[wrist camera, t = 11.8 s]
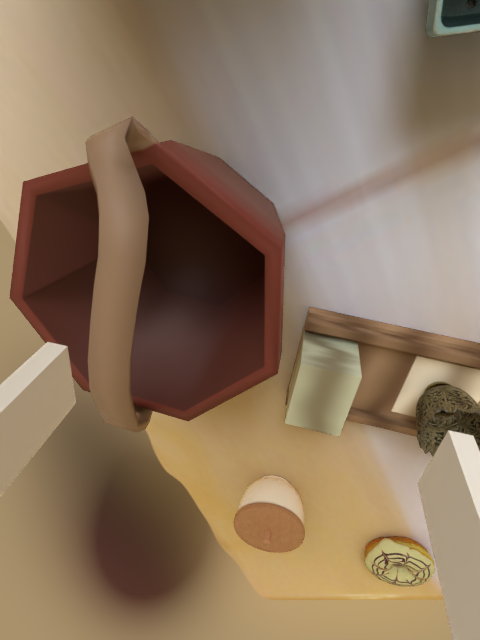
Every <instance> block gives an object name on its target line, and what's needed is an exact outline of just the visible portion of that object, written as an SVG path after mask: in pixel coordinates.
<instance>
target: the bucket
mask: <svg viewBox="0 0 480 640" xmlns="http://www.w3.org/2000/svg"><path fill="white" fill-rule="evenodd" d="M86 149H87V157H88V163H87V164H84V165H80V166H77V167H73V168H70V169H66V170H63V171H59V172H56V173H52V174H49V175H45V176H42V177H38V178H35V179H31V180H28V181H24V182H23V187H22V196H21V204H20V213H19V221H18V230H17V238H16V247H15V256H14V264H13V273H12V281H11V290H10V299H11V300H12V301H13V302H14V304H15V305H16V306H17V307H18V309H19V310H20V311H21V312H22V314H23V315H24V316H25V318H26V319H27V320H28V321H29V322H30V324H31V325H32V326H33V328H34V329H35V330H36V331H37V333H38V334H39V335H40V336H41V338H42V339H43V340H44V341H45V343H47V342H51V343H55V344H60V345H64V346H68V353H69V359H70V366H71V372H72V377H73V378H74V379H75V380H76V382H77V383H78V384H79V386H80V387H81V388H82V389H83V390H85V391H88V392H91V394H92V396H93V399H94V402H95V404H96V406H97V409H98V411H99V413H100V414H101V415H102V416H103V420H104V423H107V424H110V425H113V426H117V427H120V428H123V429H127V430H130V431H133V432H138V431H141V430H144V429H146V427H147V425H148V423H149V422H150V418H151V415H152V411H155V412H159V413H162V414H165V415H169V416H172V417H176V418H179V419H182V420H186V421H190V420H191V419H193V418H195V417H197V416H199V415H201V414H203V413H205V412H206V411H208V410H210V409H212V408H214V407H216V406H218V405H220V404H221V403H223V402H225V401H227V400H229V399H231V398H233V397H234V396H236V395H238V394H240V393H242V392H244V391H246V390H248V389H249V388H251V387H253V386H255V385H257V384H259V383H261V382H262V381H264V380H266V379H268V378H270V377H272V376H274V375H276V374H277V373H278V369H279V363H280V358H281V353H282V323H283V291H284V259H285V233H284V230H283V228H282V225H281V222H280V220H279V217H278V214H277V212H276V209H275V206H274V204H273V203H272V202H271V201H270V200H269V199H268V198H266V197H265V196H264V195H263V194H262V193H260V192H259V191H258V190H257V189H256V188H254V187H253V186H252V185H251V184H250V183H249V182H247V181H246V180H245V179H244V178H243V177H241V176H240V175H239V174H238V173H237V172H236V171H234V170H233V169H232V168H231V167H230V166H228V165H227V164H226V163H225V162H224V161H222V160H221V159H220V158H219V157H216V156H213V155H210V154H208V153H205V152H202V151H200V150H197V149H194V148H191V147H189V146H186V145H183V144H180V143H178V142H175V141H172V140H169V141H165V142H161V143H159V142H158V141H157V140H156V139H155V138H154V137H153V136H152V135H151V134H150V132H149V131H148V130H147V129H145V128H144V127H143V126H142V125H141V124H140V123H139V122H138V121H136V120H135V119H134V118H133V117H131V118H129V119H127V120H124V121H122V122H120V123H118V124H116V125H114V126H112V127H110V128H108V129H105V130H103V131H101V132H99V133H97V134H95V135H93V136H91V137H90V138H89V139H88V140H87V141H86Z"/></svg>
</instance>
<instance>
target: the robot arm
mask: <svg viewBox="0 0 480 640" xmlns="http://www.w3.org/2000/svg"><path fill="white" fill-rule="evenodd" d="M75 403H76V398H75V392H74V385H73V379H72V372H71V366H70V359H69V353H68V346H64V345H60V344H55V343H51V342H47V343H46V344H45V345H44V346H43V347H41V348H40V349H39V350H38V351H37V352H36V353H35V354H34V355H33V356H31V357H30V358H29V359H28V360H27V361H26V362H25V363H24V364H23V365H22V366H21V367H19V368H18V369H17V370H16V371H15V372H14V373H13V374H12V375H10V376H9V377H8V378H7V379H6V380H5V381H4V382H3V383H2V384H1V385H0V497H1V496H2V495H3V493H4V492H5V491H6V490H7V488H8V487H9V486H10V485H11V483H12V482H13V481H14V480H15V478H16V477H17V476H18V475H19V473H20V472H21V471H22V470H23V468H24V467H25V466H26V465H27V463H28V462H29V461H30V459H31V458H32V457H33V456H34V455H35V453H36V452H37V451H38V450H39V448H40V447H41V446H42V445H43V443H44V442H45V441H46V440H47V438H48V437H49V436H50V435H51V433H52V432H53V431H54V430H55V428H56V427H57V426H58V425H59V423H60V422H61V421H62V420H63V418H64V417H65V416H66V415H67V413H68V412H69V411H70V410H71V408H72V407H73V406H74V405H75ZM418 487H419V491H420V496H421V500H422V505H423V509H424V514H425V518H426V522H427V527H428V531H429V536H430V540H431V545H432V549H433V554H434V558H435V562H436V567H437V571H438V576H439V580H440V585H441V589H442V594H443V598H444V602H445V607H446V611H447V616H448V620H449V625H450V629H451V634H452V637H453V640H480V451H479V448H478V446H477V443H476V441H475V439H474V436H473V435H468V434H464V433H459V432H454V431H450V430H448V432H447V434H446V435H445V437H444V439H443V440H442V442H441V444H440V446H439V447H438V449H437V451H436V453H435V454H434V456H433V458H432V459H431V461H430V463H429V465H428V466H427V468H426V470H425V472H424V473H423V475H422V477H421V478H420V480H419V482H418Z"/></svg>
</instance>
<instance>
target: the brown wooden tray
mask: <svg viewBox="0 0 480 640" xmlns="http://www.w3.org/2000/svg"><path fill="white" fill-rule="evenodd" d="M438 381H442V382H446V383H448V384H450V385H452V386H454V387H457V388H460V389H462V390H463V391H465V392H467V393H468V394H469V395H470V396H471V397H472V398H473V399H474V400H475V401H476V402H477V404H478V405H479V406H480V343H475V342H471V341H466V340H461V339H457V338H452V337H447V336H443V335H438V334H433V333H429V332H424V331H419V330H415V329H410V328H405V327H401V326H396V325H391V324H387V323H382V322H377V321H373V320H368V319H363V318H359V317H354V316H349V315H345V314H340V313H335V312H331V311H326V310H321V309H317V308H312V307H309V311H308V315H307V319H306V322H305V326H304V330H303V334H302V338H301V341H300V345H299V349H298V353H297V357H296V360H295V364H294V368H293V372H292V376H291V379H290V383H289V387H288V391H287V396H286V405H287V409H286V416H285V424H289V425H293V426H297V427H301V428H305V429H309V430H313V431H317V432H321V433H325V434H329V435H333V436H337V437H339V436H340V433H341V431H342V428H343V425H344V423H345V420H346V419H347V420H351V421H355V422H359V423H363V424H367V425H372V426H376V427H380V428H384V429H388V430H392V431H396V432H401V433H405V434H409V435H413V436H418V435H417V426H416V405H417V402H418V400H419V398H420V397H421V395H422V394H423V393H424V390H425V388H426V387H427V386H428V385H429V384H431V383H433V382H438Z"/></svg>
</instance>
